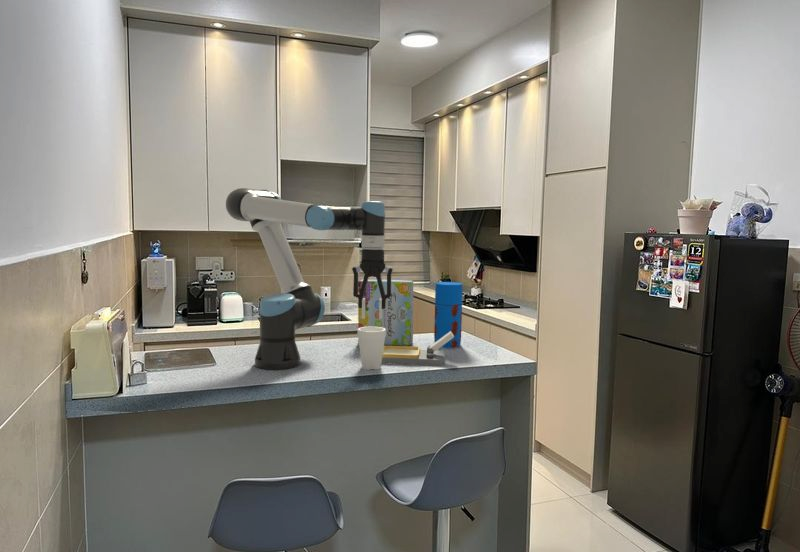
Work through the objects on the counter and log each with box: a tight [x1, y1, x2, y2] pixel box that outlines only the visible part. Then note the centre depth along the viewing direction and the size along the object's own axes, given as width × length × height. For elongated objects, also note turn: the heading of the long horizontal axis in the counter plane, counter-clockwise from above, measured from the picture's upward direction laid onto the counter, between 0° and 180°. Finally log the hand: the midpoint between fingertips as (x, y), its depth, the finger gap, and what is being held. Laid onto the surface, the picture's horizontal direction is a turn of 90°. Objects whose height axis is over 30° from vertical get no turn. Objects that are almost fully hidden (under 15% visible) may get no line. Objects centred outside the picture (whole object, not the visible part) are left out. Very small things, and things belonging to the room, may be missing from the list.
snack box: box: [357, 279, 414, 346], centre depth 218 cm, size 22×9×26 cm, turn 82°
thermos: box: [433, 281, 464, 349], centre depth 216 cm, size 11×11×25 cm
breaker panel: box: [381, 345, 445, 367], centre depth 193 cm, size 26×14×3 cm, turn 86°
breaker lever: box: [426, 331, 454, 354], centre depth 192 cm, size 2×5×11 cm
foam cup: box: [357, 327, 386, 370], centre depth 181 cm, size 10×9×13 cm
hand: (372, 318), depth 180 cm, fingers open, 5 cm apart
